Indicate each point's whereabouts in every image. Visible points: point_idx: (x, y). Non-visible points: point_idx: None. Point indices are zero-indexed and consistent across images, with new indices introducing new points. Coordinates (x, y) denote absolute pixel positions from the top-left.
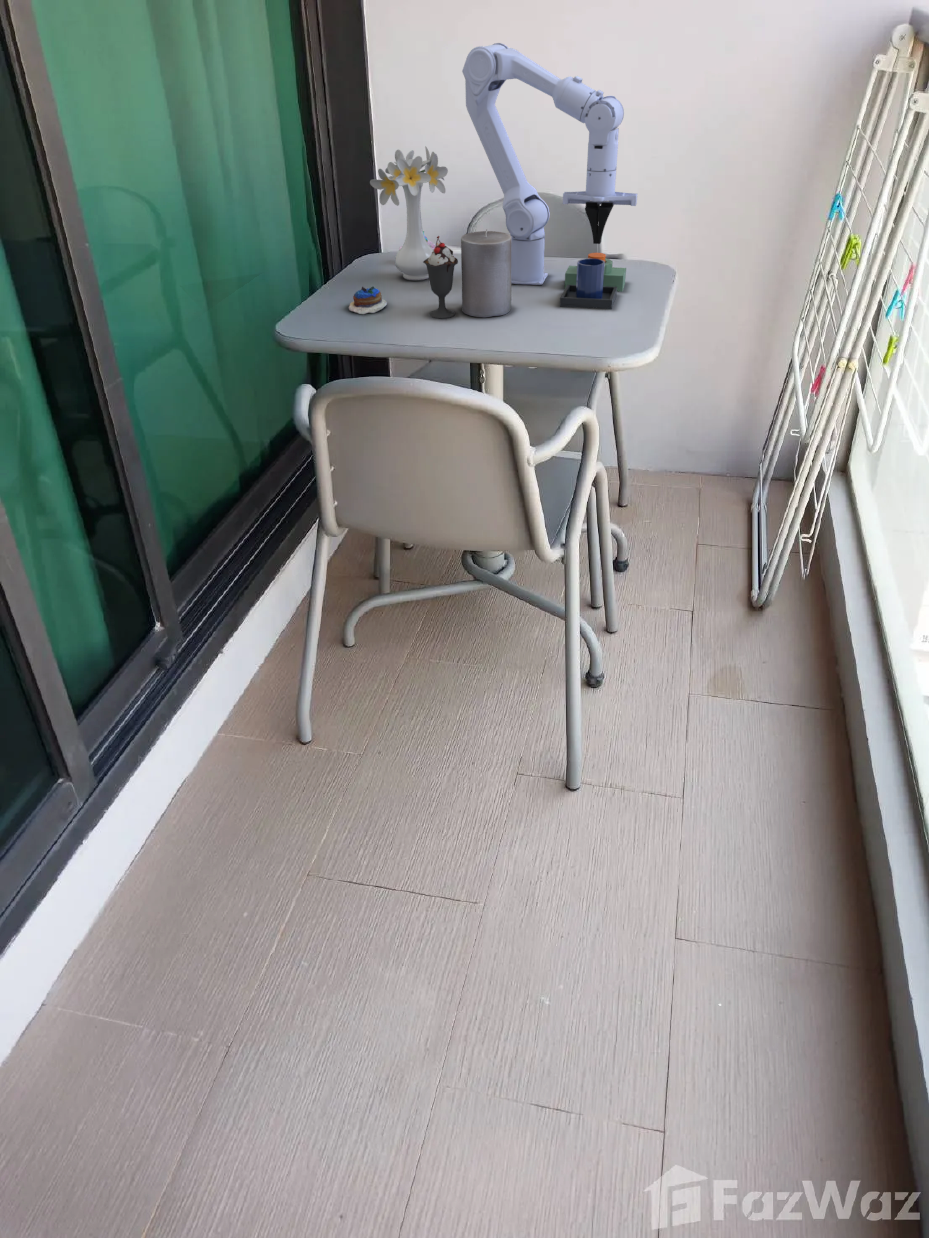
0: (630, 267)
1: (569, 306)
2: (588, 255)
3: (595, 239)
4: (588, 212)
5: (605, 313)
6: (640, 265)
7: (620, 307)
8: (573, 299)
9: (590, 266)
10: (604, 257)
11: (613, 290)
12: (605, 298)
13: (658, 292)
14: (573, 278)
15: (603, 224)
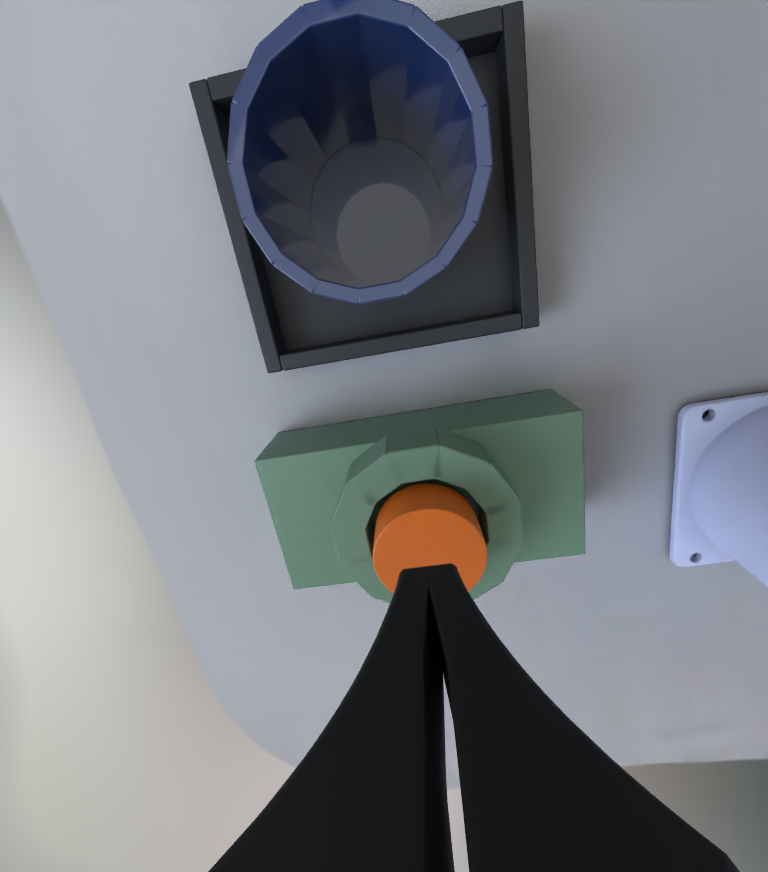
0: None
1: None
2: (480, 534)
3: (440, 582)
4: (659, 859)
5: (216, 13)
6: None
7: (188, 174)
8: None
9: (320, 8)
10: (374, 543)
11: (259, 299)
12: None
13: (134, 473)
14: (523, 410)
15: (355, 699)
